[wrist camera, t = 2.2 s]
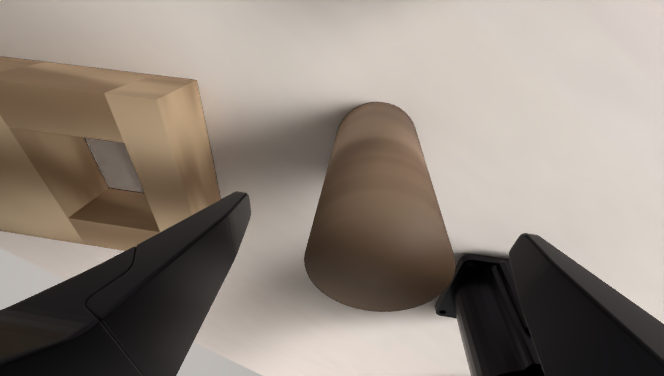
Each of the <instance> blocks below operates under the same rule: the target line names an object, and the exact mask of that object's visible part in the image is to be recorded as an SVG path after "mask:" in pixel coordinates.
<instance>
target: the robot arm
mask: <svg viewBox="0 0 664 376" xmlns="http://www.w3.org/2000/svg"><path fill="white" fill-rule="evenodd" d="M250 216H251V208H250V200H249V195H248V194H247V193H244V192H234V193H232V194H230V195H228V196H226V197H225V198H223V199H221V200H219V201H217V202H215V203H213V204H212V205H210V206H208V207H206V208H204V209H202V210H200V211H199V212H197V213H195V214H193V215H191V216H189V217H188V218H186V219H184V220H182V221H180V222H178V223H176V224H175V225H173V226H171V227H169V228H167V229H165V230H163V231H162V232H160V233H158V234H156V235H154V236H152V237H150V238H149V239H147V240H145V241H143V242H141V243H139V244H138V245H137V246H136V247H135V246H134V247H132V248H130V249H128V250H126V251H124V252H123V253H121V254H119V255H117V256H115V257H113V258H111V259H109V260H107V261H105V262H103V263H101V264H99V265H97V266H95V267H93V268H91V269H89V270H87V271H85V272H83V273H81V274H79V275H77V276H75V277H72V278H70V279H68V280H66V281H64V282H62V283H59V284H57V285H55V286H53V287H51V288H49V289H47V290H44V291H42V292H40V293H38V294H36V295H34V296H31V297H29V298H27V299H25V300H23V301H21V302H19V303H16V304H14V305H12V306H10V307H7V308H5V309H2V310H0V376H176V374H177V373H178V371H179V369H180V367H181V365H182V363H183V361H184V359H185V357H186V355H187V353H188V351H189V349H190V347H191V345H192V343H193V341H194V339H195V337H196V335H197V333H198V331H199V329H200V327H201V325H202V323H203V321H204V319H205V317H206V315H207V313H208V311H209V309H210V307H211V305H212V303H213V301H214V299H215V297H216V295H217V293H218V291H219V289H220V287H221V286H222V284H223V282H224V280H225V278H226V276H227V274H228V272H229V270H230V268H231V266H232V264H233V262H234V259H235V257H236V255H237V253H238V250H239V247H240V244H241V242H242V239H243V236H244V233H245V231H246V228H247V225H248V222H249V220H250ZM509 259H510V260H505V259H498V258H491V257H484V256H478V255H465V256H463V257H462V258H461V259H460V261H459V263H458V265H457V267H456V269H455V273H454V276H453V279H452V281H451V283H450V284H449V286H448V287H447V288H446V289H445V290H444V291H443V292H442V294H441V296H440V298H439V300H438V302H437V304H436V305H435V311H436V314H438V315H440V316H446V317H452V318H457V322H458V326H459V329H460V333H461V337H462V341H463V345H464V349H465V353H466V357H467V361H468V365H469V369H470V373H471V376H664V324H663V323H661V322H660V321H659V320H657V319H656V318H654V317H653V316H652V315H650V314H649V313H647V312H646V311H644V310H643V309H642V308H640V307H639V306H637V305H636V304H635V303H633V302H632V301H630V300H629V299H627V298H626V297H625V296H623V295H622V294H620V293H619V292H618V291H616V290H615V289H613V288H612V287H610V286H609V285H608V284H606V283H605V282H603V281H602V280H601V279H599V278H598V277H596V276H595V275H593V274H592V273H591V272H589V271H588V270H586V269H585V268H584V267H582V266H581V265H579V264H578V263H577V262H575V261H574V260H572V259H571V258H569V257H568V256H567V255H565V254H564V253H562V252H561V251H560V250H558V249H557V248H555V247H554V246H552V245H551V244H550V243H548V242H547V241H545V240H544V239H543V238H541V237H540V236H538V235H534V234H528V233H523V234H521V235H520V236H519V238H518V239H517V241H516V242H515V244H514V245H513V247H512V248H511V250H510V252H509Z"/></svg>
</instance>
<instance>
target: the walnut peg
mask: <svg viewBox="0 0 664 376" xmlns="http://www.w3.org/2000/svg"><path fill="white" fill-rule="evenodd" d="M304 263H305V268H306V272H307V274H308V276H309V278H310V279H311V281H312V282H313V284H314V285H315V286H316V287H317V288H318V289H319V290H320V291H321V292H323V293H324V294H325V295H327V296H328V297H330V298H332V299H333V300H335V301H337V302H340V303H342V304H344V305H347V306H350V307H354V308H357V309H362V310H368V311H379V312H391V311H400V310H406V309H410V308H414V307H417V306H420V305H423V304H425V303H427V302H429V301H431V300H433V299H434V298H436V297H437V296H439V295H440V294H441V293H442V292H443V291H444V290H445V289H446V288H447V287H448V286H449V284H450V283H451V281H452V279H453V276H454V273H455V258H454V254H453V251H452V247H451V244H450V241H449V238H448V234H447V231H446V228H445V224H444V221H443V218H442V215H441V211H440V208H439V205H438V201H437V198H436V195H435V192H434V188H433V185H432V182H431V178H430V175H429V172H428V169H427V165H426V162H425V159H424V155H423V152H422V149H421V146H420V142H419V139H418V136H417V132H416V129H415V126H414V124H413V122H412V120H411V118H410V117H409V116H408V115H407V114H406V113H405V112H404V111H403V110H402V109H400V108H399V107H397V106H395V105H392V104H389V103H384V102H371V103H367V104H363V105H361V106H359V107H357V108H355V109H353V110H352V111H351V112H349V113H348V114H347V115H346V116H345V118H344V119H343V120H342V122H341V124H340V126H339V128H338V131H337V135H336V139H335V142H334V146H333V150H332V154H331V157H330V161H329V165H328V169H327V172H326V176H325V180H324V184H323V187H322V191H321V195H320V199H319V202H318V206H317V210H316V214H315V217H314V221H313V225H312V228H311V232H310V236H309V240H308V243H307V247H306V251H305V257H304Z"/></svg>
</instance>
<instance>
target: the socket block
mask: <svg viewBox="0 0 664 376" xmlns="http://www.w3.org/2000/svg"><path fill="white" fill-rule="evenodd" d="M84 137H85V138H92V139H100V140H107V141H114V142H122V143H124V144H125V146H126V149H127V151H128V154H129V156H130V158H131V161H132V163H133V166H134V168H135V171H136V173H137V176H138V178H139V181H140V183H141V186H142V188H143V191H144V193H138V192H131V191H125V190H118V189H111V188H108V186H107V184H106V182H105V180H104V178H103V176H102V174H101V172H100V170H99V168H98V166H97V164H96V162H95V160H94V158H93V156H92V154H91V152H90V150H89V148H88V145H87V143H86V141H85V139H84ZM219 200H221V198H220V193H219V188H218V183H217V178H216V173H215V168H214V163H213V158H212V153H211V148H210V144H209V139H208V134H207V129H206V124H205V119H204V114H203V109H202V104H201V99H200V94H199V89H198V84H197V80H192V79H183V78H175V77H167V76H158V75H150V74H142V73H133V72H125V71H117V70H109V69H100V68H92V67H84V66H75V65H67V64H59V63H50V62H42V61H34V60H25V59H17V58H9V57H1V56H0V231H4V232H11V233H17V234H23V235H30V236H36V237H42V238H49V239H55V240H61V241H67V242H74V243H80V244H86V245H93V246H99V247H105V248H111V249H118V250H124V251H126V250H128V249H130V248H132V247H134V246H135V247H136V246H137V245H138V244H139V243H141V242H143V241H145V240H147V239H149V238H150V237H152V236H154V235H156V234H158V233H160V232H162V231H163V230H165V229H167V228H169V227H171V226H173V225H175V224H176V223H178V222H180V221H182V220H184V219H186V218H188V217H189V216H191V215H193V214H195V213H197V212H199V211H200V210H202V209H204V208H206V207H208V206H210V205H212V204H213V203H215V202H217V201H219Z"/></svg>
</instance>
